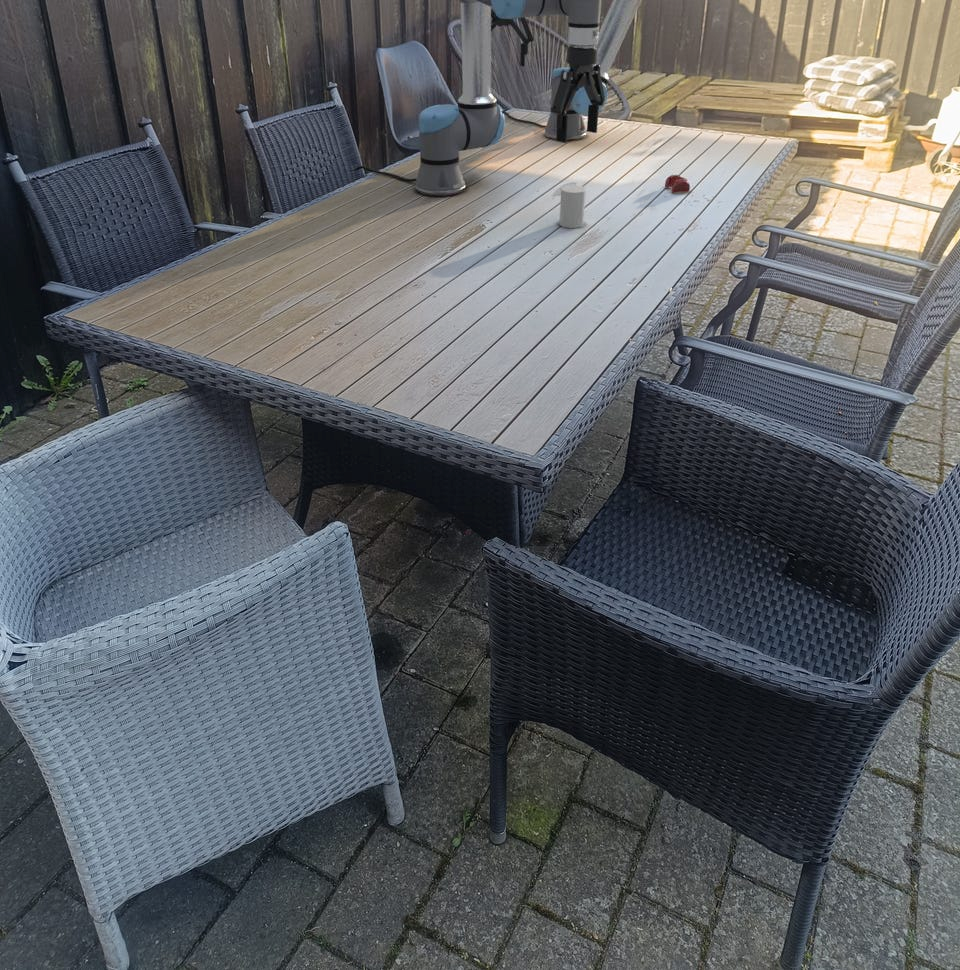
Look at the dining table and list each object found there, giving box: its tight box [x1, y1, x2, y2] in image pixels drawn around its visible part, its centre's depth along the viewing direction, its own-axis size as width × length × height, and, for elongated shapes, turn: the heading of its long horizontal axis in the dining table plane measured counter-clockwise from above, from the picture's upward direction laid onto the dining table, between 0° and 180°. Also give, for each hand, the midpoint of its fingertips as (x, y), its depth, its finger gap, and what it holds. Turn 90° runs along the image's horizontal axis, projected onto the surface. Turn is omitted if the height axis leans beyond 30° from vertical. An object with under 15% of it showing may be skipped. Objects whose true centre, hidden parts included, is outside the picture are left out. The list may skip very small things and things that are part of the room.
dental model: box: [664, 174, 691, 193], centre depth 257 cm, size 6×4×8 cm
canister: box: [558, 184, 587, 229], centre depth 230 cm, size 7×7×10 cm
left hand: (576, 136), depth 219 cm, fingers open, 13 cm apart
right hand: (502, 66), depth 279 cm, fingers open, 13 cm apart
